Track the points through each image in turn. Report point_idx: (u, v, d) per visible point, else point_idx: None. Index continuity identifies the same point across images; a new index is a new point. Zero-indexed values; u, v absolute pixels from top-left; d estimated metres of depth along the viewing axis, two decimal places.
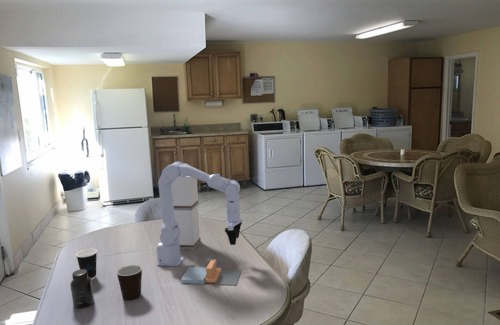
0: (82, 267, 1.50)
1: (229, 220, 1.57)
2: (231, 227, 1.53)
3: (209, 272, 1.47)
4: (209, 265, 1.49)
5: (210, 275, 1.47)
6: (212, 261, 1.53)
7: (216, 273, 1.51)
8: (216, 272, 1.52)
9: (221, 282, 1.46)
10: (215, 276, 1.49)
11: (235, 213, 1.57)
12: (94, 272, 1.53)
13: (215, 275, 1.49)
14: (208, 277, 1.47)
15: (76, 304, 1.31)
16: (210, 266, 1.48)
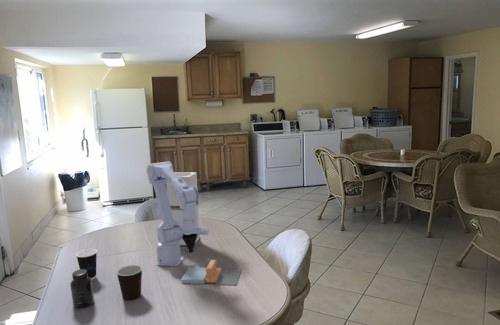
0: (82, 267, 1.50)
1: None
2: None
3: (209, 272, 1.47)
4: (209, 265, 1.49)
5: (210, 275, 1.47)
6: (212, 261, 1.53)
7: (216, 273, 1.51)
8: (216, 272, 1.52)
9: (221, 282, 1.46)
10: (215, 276, 1.49)
11: (182, 221, 1.48)
12: (94, 272, 1.53)
13: (215, 275, 1.49)
14: (208, 277, 1.47)
15: (76, 304, 1.31)
16: (210, 266, 1.48)
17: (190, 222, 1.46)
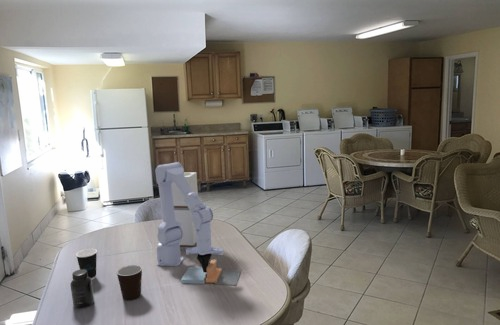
0: (82, 267, 1.50)
1: None
2: None
3: (209, 272, 1.47)
4: (209, 265, 1.49)
5: (210, 275, 1.47)
6: (212, 261, 1.53)
7: (216, 273, 1.51)
8: (216, 272, 1.52)
9: (221, 282, 1.46)
10: (215, 276, 1.49)
11: None
12: (94, 272, 1.53)
13: (215, 275, 1.49)
14: (208, 277, 1.47)
15: (76, 304, 1.31)
16: (210, 266, 1.48)
17: (205, 242, 1.47)
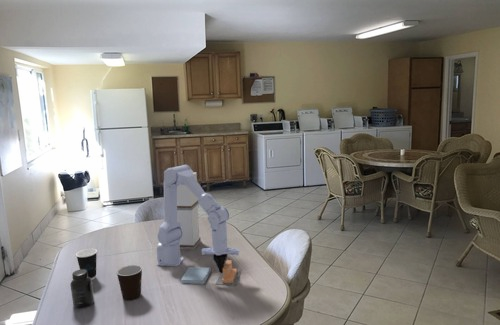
0: (82, 267, 1.50)
1: None
2: None
3: (226, 272, 1.46)
4: (225, 265, 1.48)
5: (227, 275, 1.46)
6: (228, 261, 1.52)
7: (232, 273, 1.50)
8: (232, 272, 1.51)
9: (221, 282, 1.46)
10: (231, 276, 1.48)
11: (212, 241, 1.47)
12: (94, 272, 1.53)
13: (231, 275, 1.49)
14: (225, 277, 1.46)
15: (76, 304, 1.31)
16: (226, 266, 1.47)
17: (221, 242, 1.46)
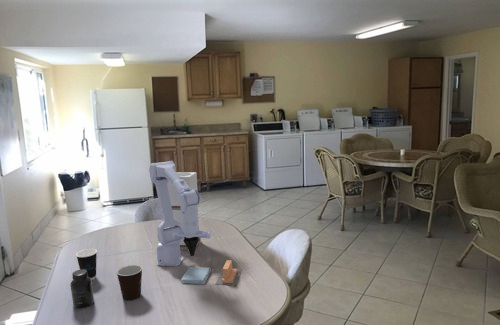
0: (82, 267, 1.50)
1: None
2: None
3: (226, 272, 1.46)
4: (225, 265, 1.48)
5: (227, 275, 1.46)
6: (228, 261, 1.52)
7: (232, 273, 1.50)
8: (232, 272, 1.51)
9: (221, 282, 1.46)
10: (231, 276, 1.48)
11: (183, 224, 1.46)
12: (94, 272, 1.53)
13: (231, 275, 1.49)
14: (225, 277, 1.46)
15: (76, 304, 1.31)
16: (226, 266, 1.47)
17: (191, 225, 1.44)
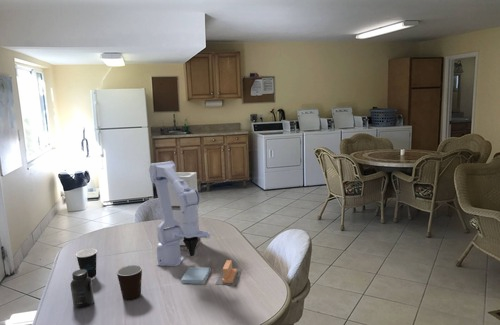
0: (82, 267, 1.50)
1: None
2: None
3: (226, 272, 1.46)
4: (225, 265, 1.48)
5: (227, 275, 1.46)
6: (228, 261, 1.52)
7: (232, 273, 1.50)
8: (232, 272, 1.51)
9: (221, 282, 1.46)
10: (231, 276, 1.48)
11: (183, 224, 1.46)
12: (94, 272, 1.53)
13: (231, 275, 1.49)
14: (225, 277, 1.46)
15: (76, 304, 1.31)
16: (226, 266, 1.47)
17: (191, 225, 1.44)
